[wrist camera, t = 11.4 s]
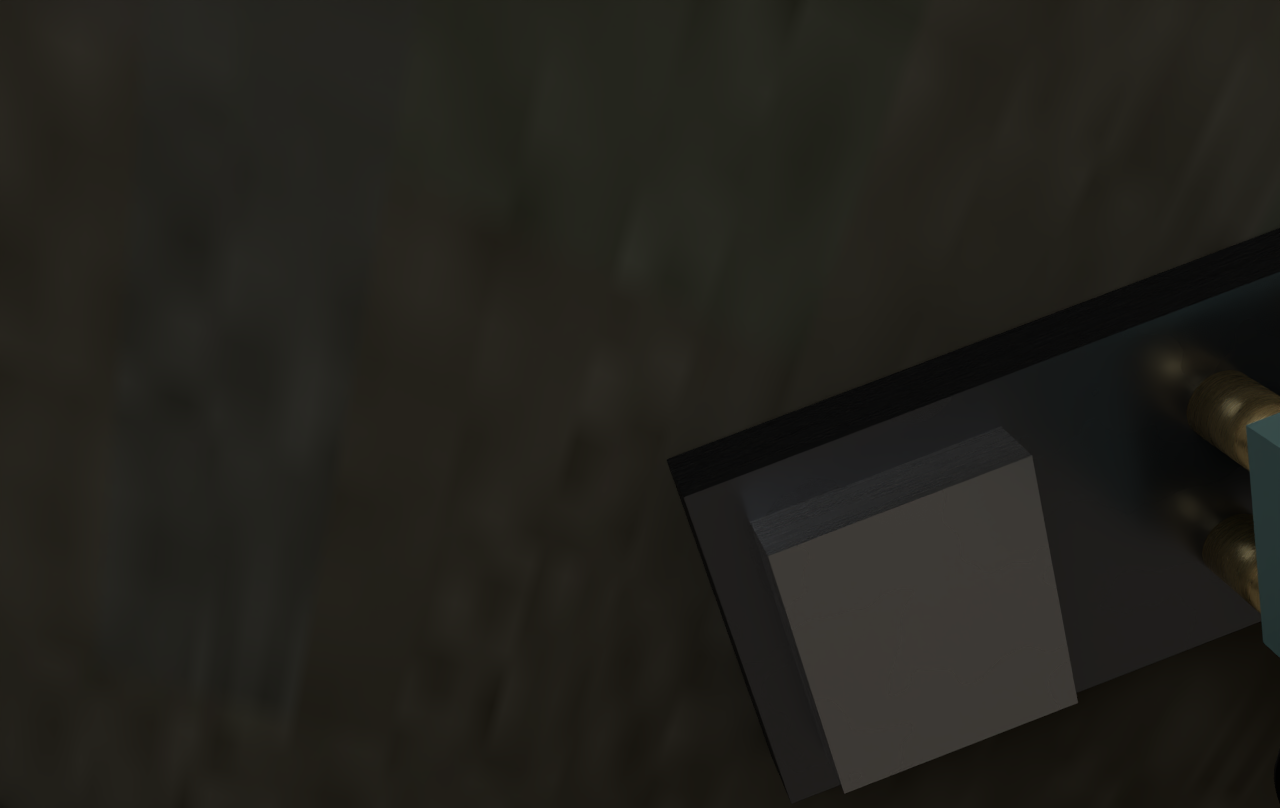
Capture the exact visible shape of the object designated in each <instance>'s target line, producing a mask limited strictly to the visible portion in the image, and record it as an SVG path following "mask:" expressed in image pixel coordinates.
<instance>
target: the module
mask: <svg viewBox="0 0 1280 808" xmlns="http://www.w3.org/2000/svg"><path fill="white" fill-rule="evenodd" d="M1246 432H1247V445H1248V458H1249V470H1250V483H1251V495H1252V508H1253V521H1254V533H1255V546H1256V559H1257V571H1258V584H1259V597H1260V609H1261V622H1262V634H1263V643H1264V644H1265V645H1266V646H1268V647H1269V648H1270V649H1271V650H1272V651H1273V652H1274V653H1275V654H1276V655H1277V656H1279V657H1280V413H1277V414H1274V415H1272V416H1269V417H1266V418H1264V419H1261V420H1259V421H1256V422H1253V423H1251V424H1248V425H1246Z"/></svg>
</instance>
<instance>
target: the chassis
mask: <svg viewBox="0 0 1280 808" xmlns="http://www.w3.org/2000/svg"><path fill="white" fill-rule="evenodd" d="M1277 413H1280V228H1279V229H1276V230H1274V231H1271V232H1268V233H1266V234H1263V235H1260V236H1258V237H1255V238H1253V239H1250V240H1247V241H1245V242H1242V243H1239V244H1237V245H1234V246H1231V247H1229V248H1226V249H1223V250H1221V251H1218V252H1215V253H1213V254H1210V255H1207V256H1205V257H1202V258H1200V259H1197V260H1194V261H1192V262H1189V263H1186V264H1184V265H1181V266H1178V267H1176V268H1173V269H1170V270H1168V271H1165V272H1162V273H1160V274H1157V275H1154V276H1152V277H1149V278H1146V279H1144V280H1141V281H1139V282H1136V283H1133V284H1131V285H1128V286H1125V287H1123V288H1120V289H1117V290H1115V291H1112V292H1109V293H1107V294H1104V295H1101V296H1099V297H1096V298H1093V299H1091V300H1088V301H1086V302H1083V303H1080V304H1078V305H1075V306H1072V307H1070V308H1067V309H1064V310H1062V311H1059V312H1056V313H1054V314H1051V315H1048V316H1046V317H1043V318H1040V319H1038V320H1035V321H1033V322H1030V323H1027V324H1025V325H1022V326H1019V327H1017V328H1014V329H1011V330H1009V331H1006V332H1003V333H1001V334H998V335H995V336H993V337H990V338H987V339H985V340H982V341H980V342H977V343H974V344H972V345H969V346H966V347H964V348H961V349H958V350H956V351H953V352H950V353H948V354H945V355H942V356H940V357H937V358H934V359H932V360H929V361H926V362H924V363H921V364H919V365H916V366H913V367H911V368H908V369H905V370H903V371H900V372H897V373H895V374H892V375H889V376H887V377H884V378H881V379H879V380H876V381H873V382H871V383H868V384H866V385H863V386H860V387H858V388H855V389H852V390H850V391H847V392H844V393H842V394H839V395H836V396H834V397H831V398H828V399H826V400H823V401H820V402H818V403H815V404H813V405H810V406H807V407H805V408H802V409H799V410H797V411H794V412H791V413H789V414H786V415H783V416H781V417H778V418H775V419H773V420H770V421H767V422H765V423H762V424H760V425H757V426H754V427H752V428H749V429H746V430H744V431H741V432H738V433H736V434H733V435H730V436H728V437H725V438H722V439H720V440H717V441H714V442H712V443H709V444H706V445H704V446H701V447H699V448H696V449H693V450H691V451H688V452H685V453H683V454H680V455H677V456H675V457H672V458H669V459H667V462H668V465H669V468H670V471H671V474H672V477H673V479H674V482H675V485H676V488H677V491H678V494H679V496H680V499H681V502H682V505H683V508H684V510H685V513H686V516H687V519H688V522H689V525H690V527H691V530H692V533H693V536H694V539H695V542H696V544H697V547H698V550H699V553H700V556H701V559H702V561H703V564H704V567H705V570H706V573H707V576H708V578H709V581H710V584H711V587H712V590H713V592H714V595H715V598H716V601H717V604H718V607H719V609H720V612H721V615H722V618H723V621H724V624H725V626H726V629H727V632H728V635H729V638H730V641H731V643H732V646H733V649H734V652H735V655H736V658H737V660H738V663H739V666H740V669H741V672H742V674H743V677H744V680H745V683H746V686H747V689H748V691H749V694H750V697H751V700H752V703H753V706H754V708H755V711H756V714H757V717H758V720H759V723H760V725H761V728H762V731H763V734H764V737H765V739H766V742H767V745H768V748H769V751H770V754H771V756H772V759H773V761H774V763H775V766H776V768H777V771H778V773H779V775H780V778H781V780H782V782H783V785H784V787H785V790H786V792H787V794H788V797H789V799H790V802H791V804H792V803H795V802H797V801H800V800H802V799H805V798H808V797H810V796H813V795H815V794H818V793H820V792H823V791H826V790H828V789H831V788H833V787H836V786H838V785H840V786H841V788H842V790H843V792H844V794H845V793H847V792H850V791H853V790H855V789H858V788H860V787H863V786H865V785H868V784H871V783H873V782H876V781H878V780H881V779H883V778H886V777H889V776H891V775H894V774H896V773H899V772H901V771H904V770H907V769H909V768H912V767H914V766H917V765H919V764H922V763H925V762H927V761H930V760H932V759H935V758H937V757H940V756H943V755H945V754H948V753H950V752H953V751H955V750H958V749H961V748H963V747H966V746H968V745H971V744H973V743H976V742H979V741H981V740H984V739H986V738H989V737H991V736H994V735H997V734H999V733H1002V732H1004V731H1007V730H1009V729H1012V728H1015V727H1017V726H1020V725H1022V724H1025V723H1027V722H1030V721H1033V720H1035V719H1038V718H1040V717H1043V716H1045V715H1048V714H1051V713H1053V712H1056V711H1058V710H1061V709H1063V708H1066V707H1069V706H1071V705H1074V704H1076V703H1078V701H1077V695H1076V693H1078V692H1080V691H1083V690H1085V689H1088V688H1091V687H1093V686H1096V685H1098V684H1101V683H1103V682H1106V681H1109V680H1111V679H1114V678H1116V677H1119V676H1121V675H1124V674H1127V673H1129V672H1132V671H1134V670H1137V669H1139V668H1142V667H1145V666H1147V665H1150V664H1152V663H1155V662H1157V661H1160V660H1163V659H1165V658H1168V657H1170V656H1173V655H1175V654H1178V653H1181V652H1183V651H1186V650H1188V649H1191V648H1194V647H1196V646H1199V645H1201V644H1204V643H1206V642H1209V641H1212V640H1214V639H1217V638H1219V637H1222V636H1224V635H1227V634H1230V633H1232V632H1235V631H1237V630H1240V629H1242V628H1245V627H1248V626H1250V625H1253V624H1255V623H1258V622H1260V621H1261V609H1260V597H1259V584H1258V571H1257V559H1256V546H1255V533H1254V521H1253V508H1252V495H1251V483H1250V470H1249V458H1248V445H1247V432H1246V425H1248V424H1251V423H1253V422H1256V421H1259V420H1261V419H1264V418H1266V417H1269V416H1272V415H1274V414H1277Z"/></svg>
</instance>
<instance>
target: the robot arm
mask: <svg viewBox="0 0 1280 808" xmlns="http://www.w3.org/2000/svg"><path fill="white" fill-rule="evenodd" d="M1274 782H1275V789H1276V793H1277V797H1278V800H1279V803H1280V749H1279V752H1278V756H1277V759H1276V763H1275V769H1274Z"/></svg>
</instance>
